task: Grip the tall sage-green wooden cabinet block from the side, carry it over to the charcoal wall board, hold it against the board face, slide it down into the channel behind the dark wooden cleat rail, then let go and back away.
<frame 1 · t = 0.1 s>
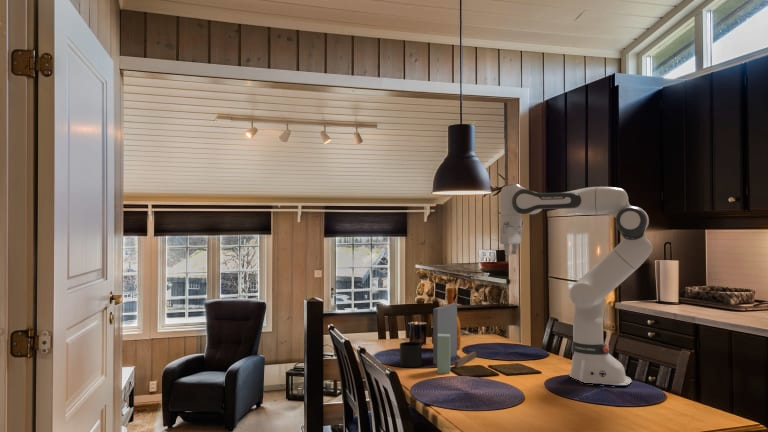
hand: (511, 254, 225), 48 cm above the table, tool pointing down, fingers open, 8 cm apart
sage-green cabinet block: (443, 371, 217), on the table
amber bottle: (450, 349, 261), on the table
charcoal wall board: (447, 359, 238), on the table
mug: (409, 364, 230), on the table
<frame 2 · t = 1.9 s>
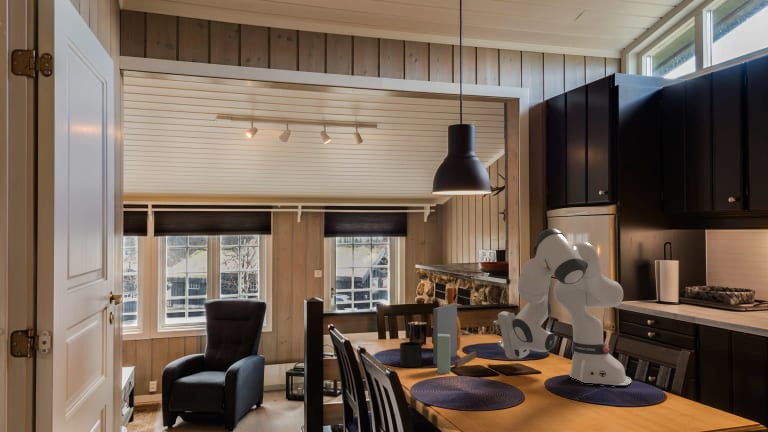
hand: (496, 332, 234), 13 cm above the table, tool horizontal, fingers open, 8 cm apart
nothing on the table moved.
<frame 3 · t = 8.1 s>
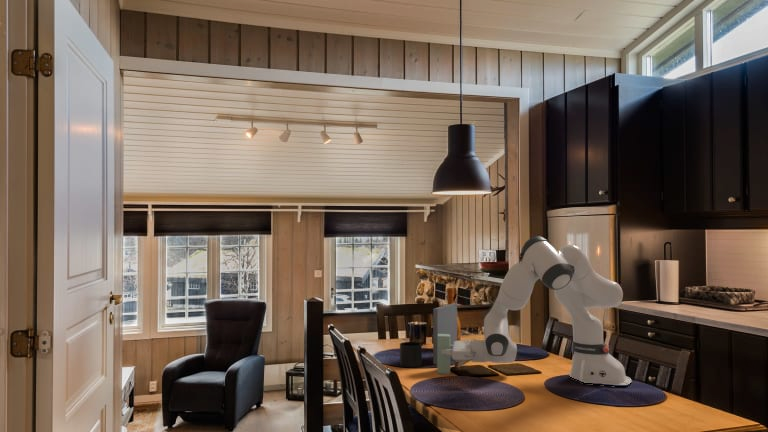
hand: (441, 349, 218), 9 cm above the table, tool horizontal, fingers closed on sage-green cabinet block, 5 cm apart
sage-green cabinet block: (443, 371, 217), on the table, touching gripper
everything else where it was.
when the fingers open (10 cm above the table, at t = 15.3 s): sage-green cabinet block stays where it is, on the table.
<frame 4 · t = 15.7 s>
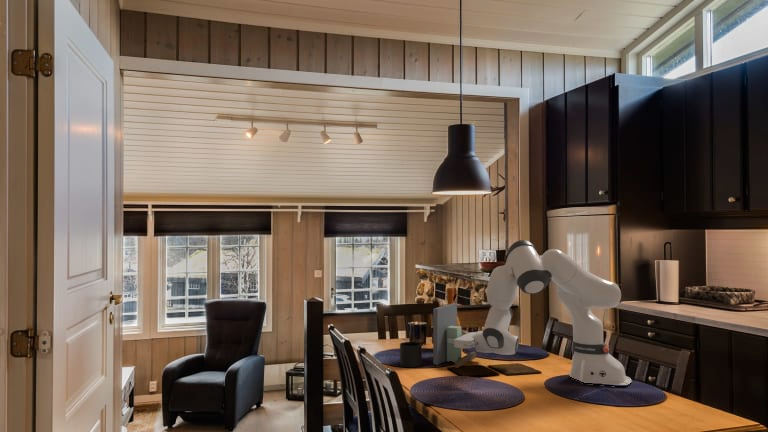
hand: (452, 338, 237), 10 cm above the table, tool horizontal, fingers open, 8 cm apart
sage-green cabinet block: (454, 360, 237), on the table
everything else where it was.
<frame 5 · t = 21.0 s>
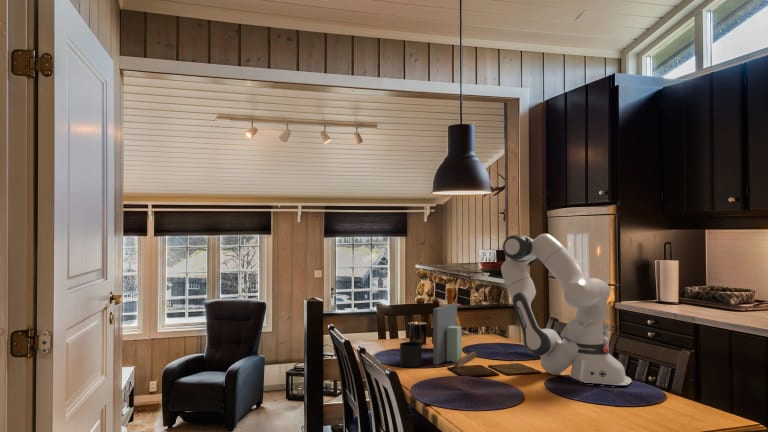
hand: (600, 322, 204), 23 cm above the table, tool pointing upward, fingers open, 8 cm apart
nothing on the table moved.
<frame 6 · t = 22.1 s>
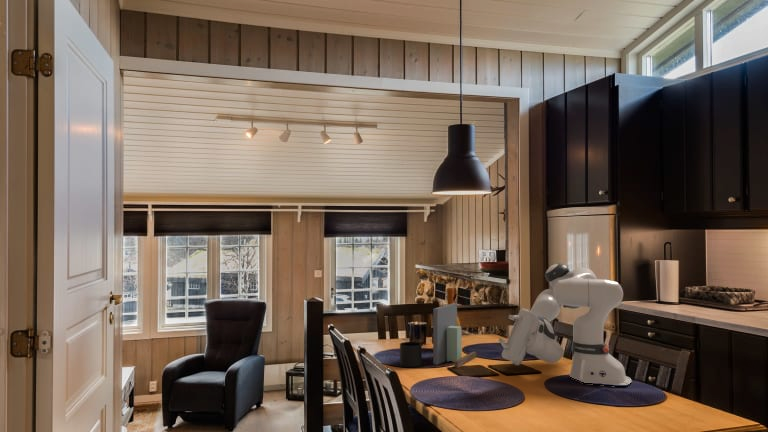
hand: (504, 328, 196), 22 cm above the table, tool pointing upward, fingers open, 8 cm apart
nothing on the table moved.
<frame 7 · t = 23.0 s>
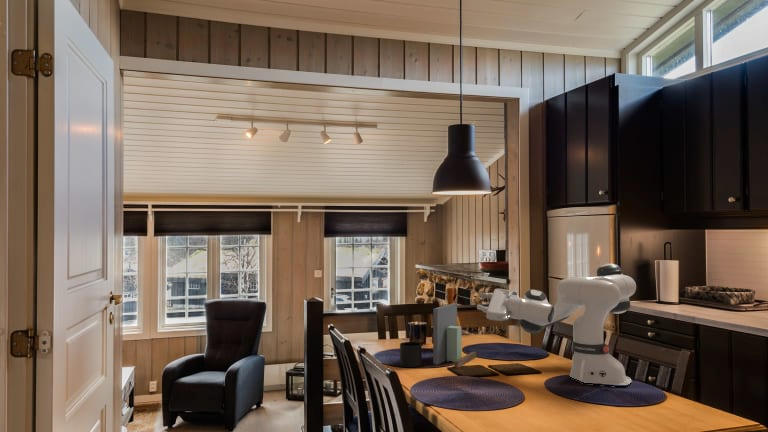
hand: (479, 300, 223), 28 cm above the table, tool horizontal, fingers open, 8 cm apart
nothing on the table moved.
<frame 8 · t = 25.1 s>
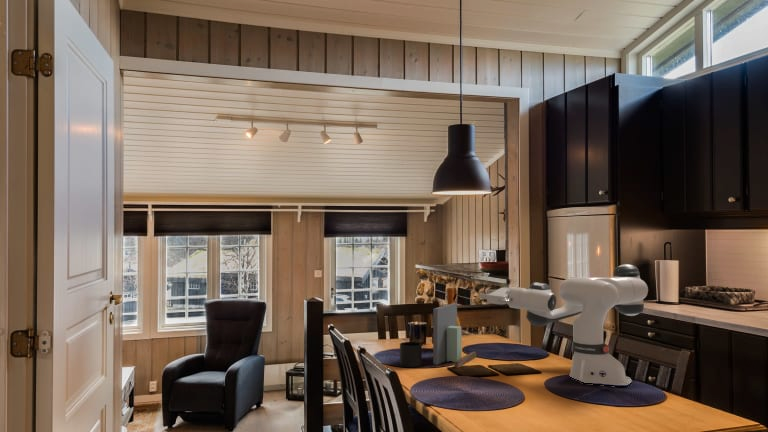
hand: (483, 293, 231), 31 cm above the table, tool horizontal, fingers open, 8 cm apart
nothing on the table moved.
at the end: sage-green cabinet block inside the target area on the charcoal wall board (1.3 cm from its centre), point 0.0 cm above the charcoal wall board's base; sage-green cabinet block tilted 0°; the gripper is holding nothing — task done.
